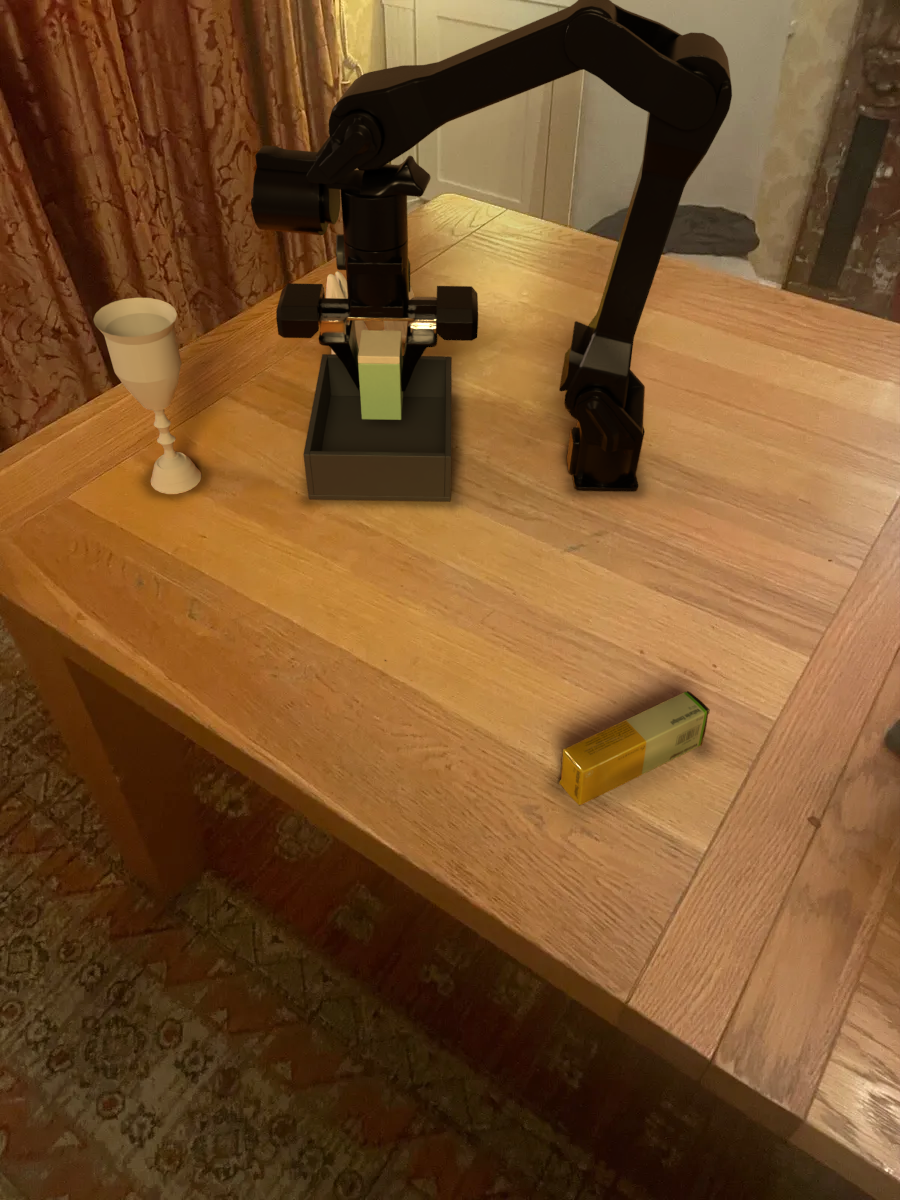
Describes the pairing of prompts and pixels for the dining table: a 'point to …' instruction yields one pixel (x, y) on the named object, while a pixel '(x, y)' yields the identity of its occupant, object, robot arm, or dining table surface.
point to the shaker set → (339, 290)
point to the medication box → (633, 747)
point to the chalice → (150, 375)
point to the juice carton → (380, 374)
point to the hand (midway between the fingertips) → (382, 388)
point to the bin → (380, 438)
